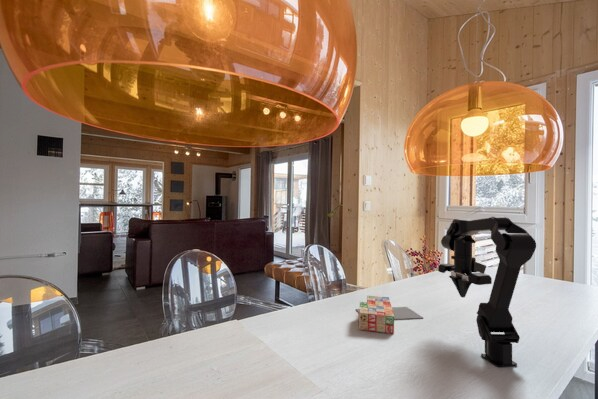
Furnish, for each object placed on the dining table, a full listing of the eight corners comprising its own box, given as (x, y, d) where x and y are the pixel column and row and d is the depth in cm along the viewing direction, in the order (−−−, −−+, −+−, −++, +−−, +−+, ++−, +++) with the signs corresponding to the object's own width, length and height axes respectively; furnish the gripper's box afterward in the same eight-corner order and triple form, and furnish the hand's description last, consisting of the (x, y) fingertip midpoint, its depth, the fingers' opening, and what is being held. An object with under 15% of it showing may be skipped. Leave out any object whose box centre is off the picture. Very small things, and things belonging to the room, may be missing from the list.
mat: (423, 318, 118) (423, 317, 118) (367, 321, 115) (367, 320, 115) (406, 307, 131) (406, 306, 131) (355, 309, 127) (355, 308, 127)
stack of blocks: (389, 311, 124) (359, 308, 127) (389, 297, 124) (359, 294, 127) (393, 334, 103) (358, 329, 106) (394, 316, 103) (358, 312, 106)
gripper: (504, 258, 98) (504, 304, 98) (460, 248, 116) (460, 287, 116) (477, 259, 95) (477, 307, 95) (437, 249, 113) (437, 289, 113)
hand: (462, 297), depth 105 cm, fingers closed
